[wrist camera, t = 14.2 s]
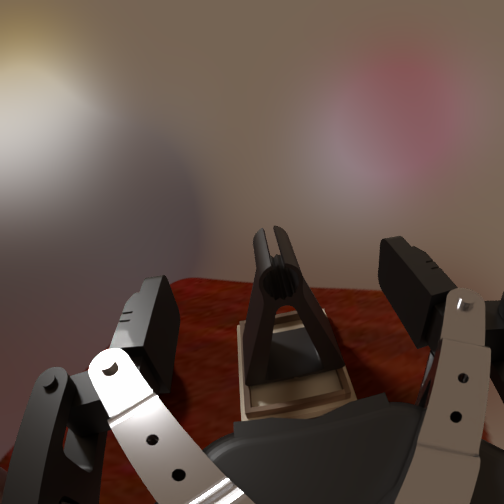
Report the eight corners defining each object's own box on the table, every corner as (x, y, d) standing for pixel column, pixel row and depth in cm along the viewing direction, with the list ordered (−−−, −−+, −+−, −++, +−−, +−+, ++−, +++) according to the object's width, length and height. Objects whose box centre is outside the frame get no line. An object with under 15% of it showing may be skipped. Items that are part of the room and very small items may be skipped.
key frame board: (244, 429, 24) (239, 418, 23) (238, 331, 35) (235, 319, 35) (356, 406, 24) (358, 395, 23) (323, 315, 35) (323, 302, 34)
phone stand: (329, 324, 31) (322, 216, 25) (345, 367, 26) (345, 251, 20) (243, 340, 31) (213, 236, 26) (245, 386, 26) (209, 277, 20)
